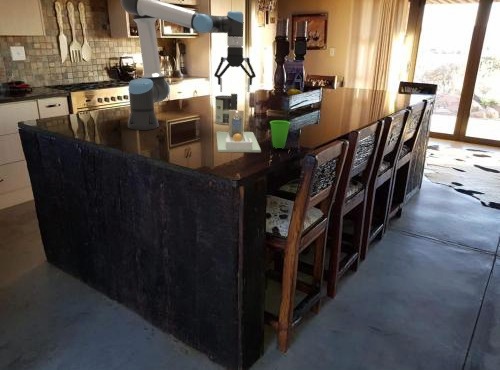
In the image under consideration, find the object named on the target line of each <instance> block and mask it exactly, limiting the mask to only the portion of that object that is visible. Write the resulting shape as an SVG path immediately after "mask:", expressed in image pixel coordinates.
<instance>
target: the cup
mask: <svg viewBox="0 0 500 370" xmlns="http://www.w3.org/2000/svg"><path fill="white" fill-rule="evenodd" d="M269 124H270V133H271V141H272V142H271V143H272V148H274V147H275V148H274V149H277V148H282V149H285V147H286V142H287V139H288V133H289V130H290V125H291V122H290V121H288V120H271V121H269Z"/></svg>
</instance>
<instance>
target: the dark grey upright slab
mask: <svg viewBox="0 0 500 370" xmlns="http://www.w3.org/2000/svg"><path fill="white" fill-rule="evenodd" d="M230 96H231V110H238V93H230ZM239 116H240V112H239V111H235V112H234V119H232V137H233V136H234V135H235V134H237V133H238V134H240V135H241V119H239Z"/></svg>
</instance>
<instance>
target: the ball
mask: <svg viewBox="0 0 500 370" xmlns="http://www.w3.org/2000/svg"><path fill="white" fill-rule="evenodd" d="M233 140H234V141H235V142H240V141H241V140H242V136H241V135H240V134H238V133H237V134H235V135H234V136H233Z"/></svg>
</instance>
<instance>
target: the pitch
mask: <svg viewBox="0 0 500 370" xmlns="http://www.w3.org/2000/svg"><path fill="white" fill-rule="evenodd" d="M235 111H239V112H240V116H239V117H238V118H239V119H241V136H242V140H241V141H240V142H235V141H234V140H233V137H232V119H235V117H234V112H235ZM244 113H245V112H244V110H243V109H237V110H229V124H228V131H216V132H215V133H216V145H217V146H216V147H217V153H262V150H261V147H260V145H259V142H258V141H257V138H256V136H255V133H254V131H244V119H245V118H244V115H245V114H244Z"/></svg>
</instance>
